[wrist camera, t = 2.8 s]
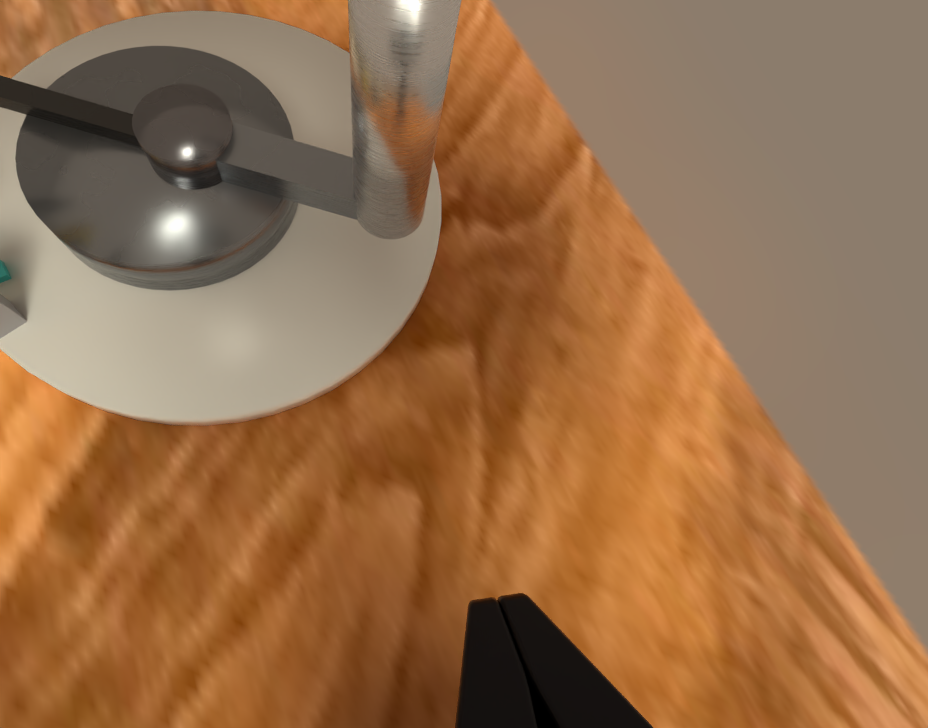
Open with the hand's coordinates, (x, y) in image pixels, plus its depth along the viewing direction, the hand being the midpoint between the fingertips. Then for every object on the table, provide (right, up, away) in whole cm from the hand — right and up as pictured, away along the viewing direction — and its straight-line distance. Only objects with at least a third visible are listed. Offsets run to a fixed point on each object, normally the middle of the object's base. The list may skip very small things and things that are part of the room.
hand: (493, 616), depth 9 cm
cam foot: (-10, +10, +14) cm, 20 cm away
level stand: (-10, +10, +15) cm, 21 cm away
